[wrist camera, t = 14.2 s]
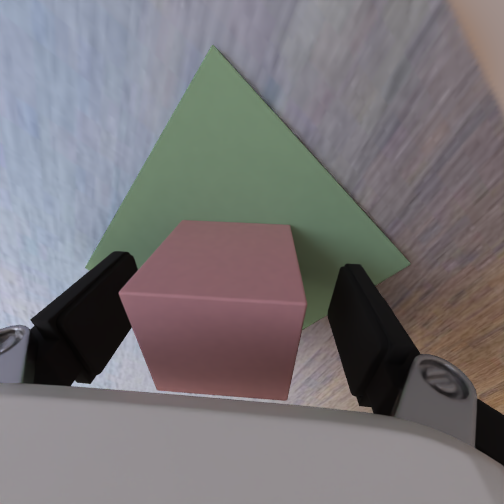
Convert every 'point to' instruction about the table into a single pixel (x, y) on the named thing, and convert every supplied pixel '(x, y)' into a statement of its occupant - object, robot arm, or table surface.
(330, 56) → the table surface
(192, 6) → the table surface
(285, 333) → the block
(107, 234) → the mat
